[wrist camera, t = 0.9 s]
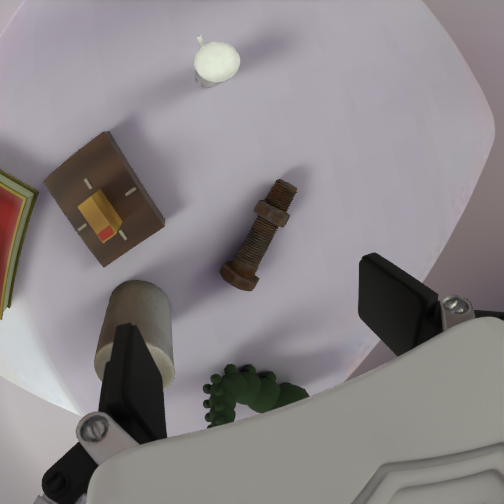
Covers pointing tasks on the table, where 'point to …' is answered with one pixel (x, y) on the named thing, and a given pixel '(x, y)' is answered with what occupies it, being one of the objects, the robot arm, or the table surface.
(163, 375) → the pillar candle
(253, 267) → the bolt
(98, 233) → the thumbturn
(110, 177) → the lock plate
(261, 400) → the toy figurine
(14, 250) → the hardcover book
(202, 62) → the milkshake
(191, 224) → the table surface
